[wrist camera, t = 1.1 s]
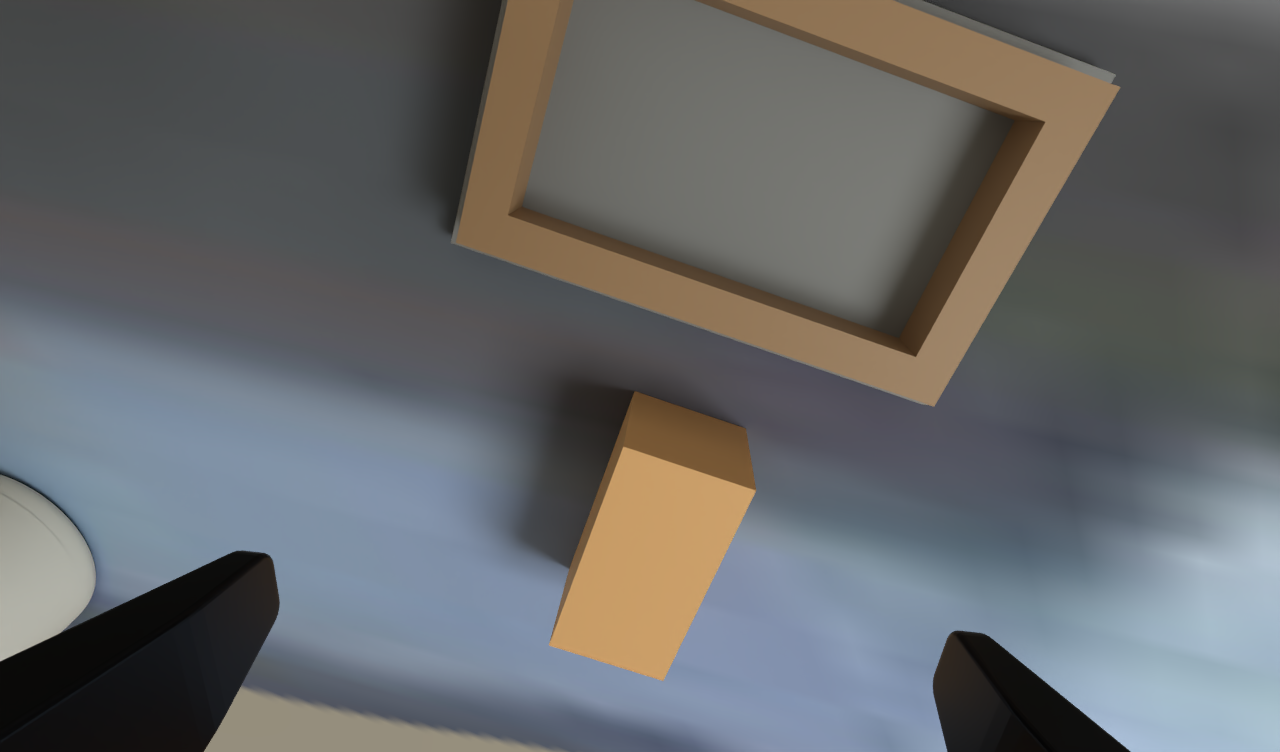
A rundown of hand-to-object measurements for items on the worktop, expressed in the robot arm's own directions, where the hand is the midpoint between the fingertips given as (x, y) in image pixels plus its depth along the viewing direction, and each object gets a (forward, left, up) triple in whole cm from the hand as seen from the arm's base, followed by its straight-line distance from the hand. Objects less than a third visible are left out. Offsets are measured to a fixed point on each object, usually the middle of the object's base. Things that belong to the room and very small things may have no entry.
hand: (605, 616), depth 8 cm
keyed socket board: (-1, -5, -13) cm, 14 cm away
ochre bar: (-2, +7, -13) cm, 15 cm away
